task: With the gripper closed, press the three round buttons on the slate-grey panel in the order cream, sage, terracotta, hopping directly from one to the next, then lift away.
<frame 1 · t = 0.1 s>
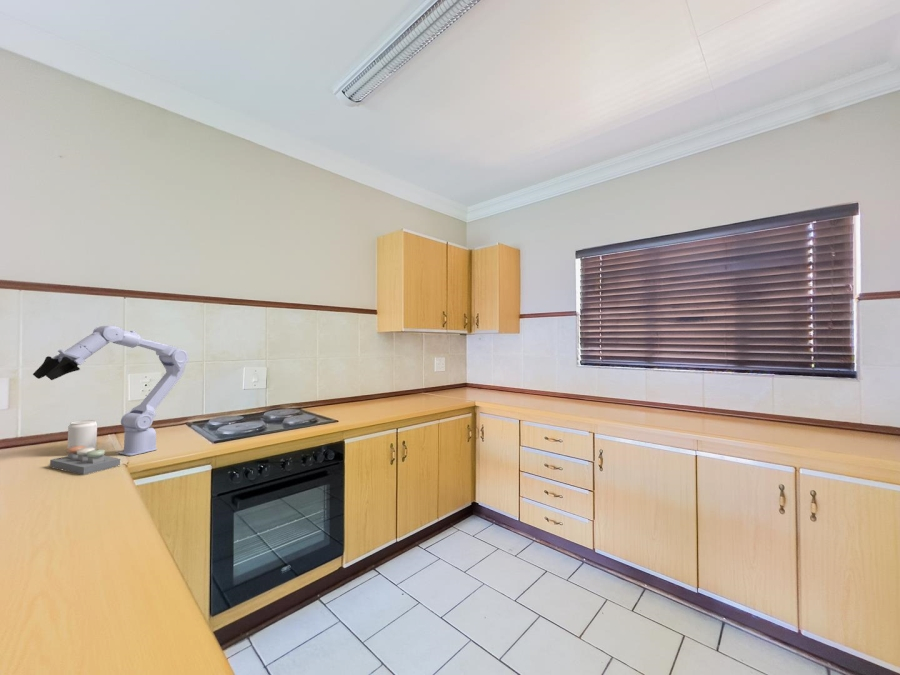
hand: (42, 377, 120), 32 cm above the worktop, tool tilted 50°, fingers open, 7 cm apart
terracotta button: (75, 453, 130), point 4 cm above the worktop, slide at 0.0 cm
button panel: (85, 466, 128), on the worktop
sage button: (95, 457, 126), point 4 cm above the worktop, slide at 0.0 cm
translucent white cylinder: (81, 452, 144), on the worktop
cream button: (85, 455, 128), point 4 cm above the worktop, slide at 0.0 cm
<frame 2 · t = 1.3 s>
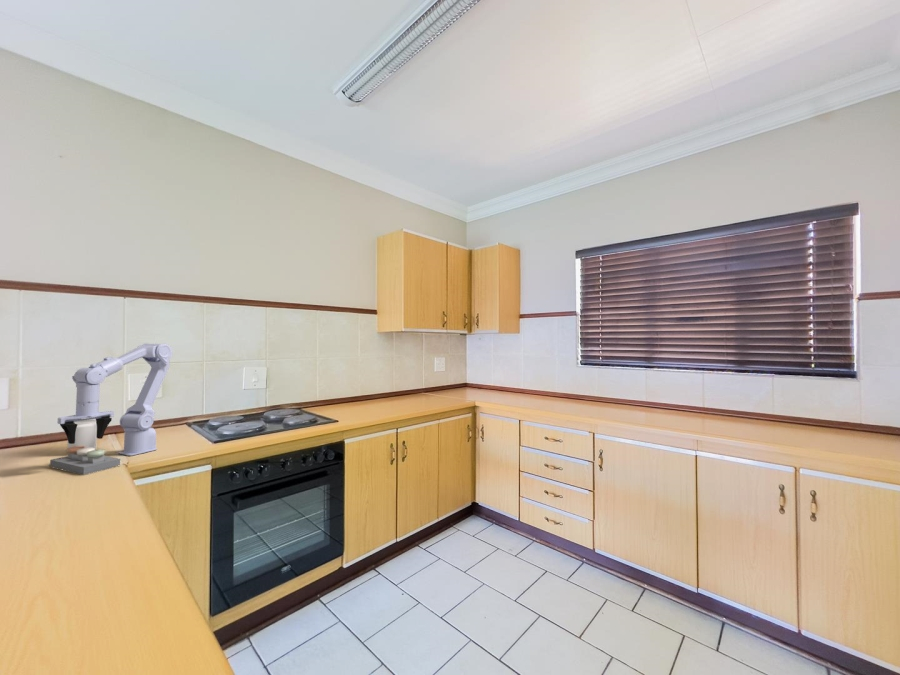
hand: (85, 440, 128), 9 cm above the worktop, tool pointing down, fingers open, 7 cm apart
nothing on the worktop moved.
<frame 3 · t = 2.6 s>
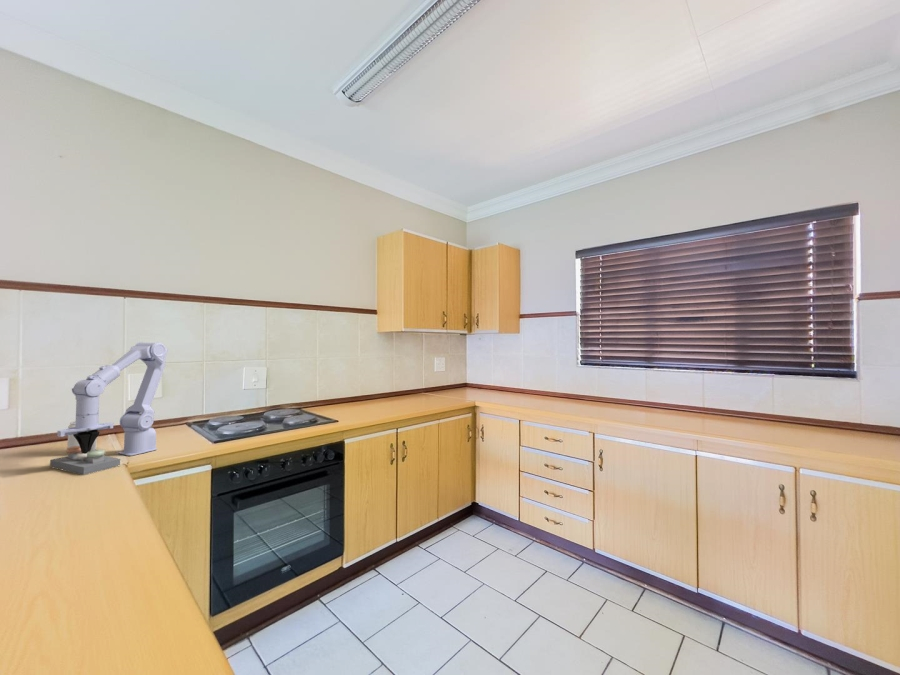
hand: (85, 452, 128), 5 cm above the worktop, tool pointing down, fingers closed, pressing on cream button
cream button: (85, 458, 128), point 3 cm above the worktop, slide at 1.2 cm, touching gripper
everything else where it was.
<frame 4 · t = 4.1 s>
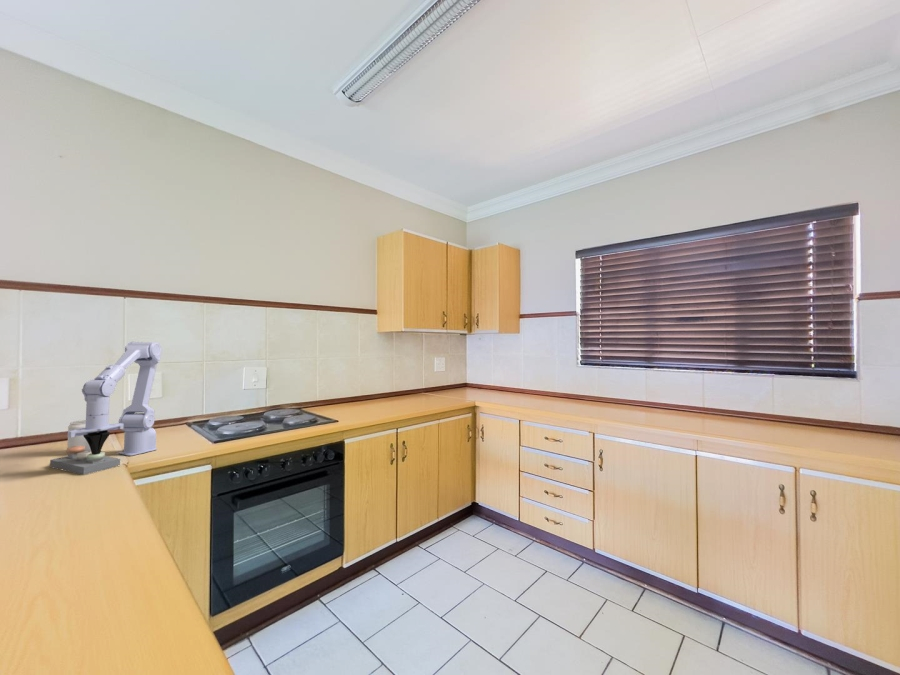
hand: (95, 453, 126), 5 cm above the worktop, tool pointing down, fingers closed, pressing on sage button
sage button: (95, 460, 126), point 3 cm above the worktop, slide at 0.9 cm, touching gripper
cream button: (85, 458, 128), point 3 cm above the worktop, slide at 1.2 cm
everything else where it was.
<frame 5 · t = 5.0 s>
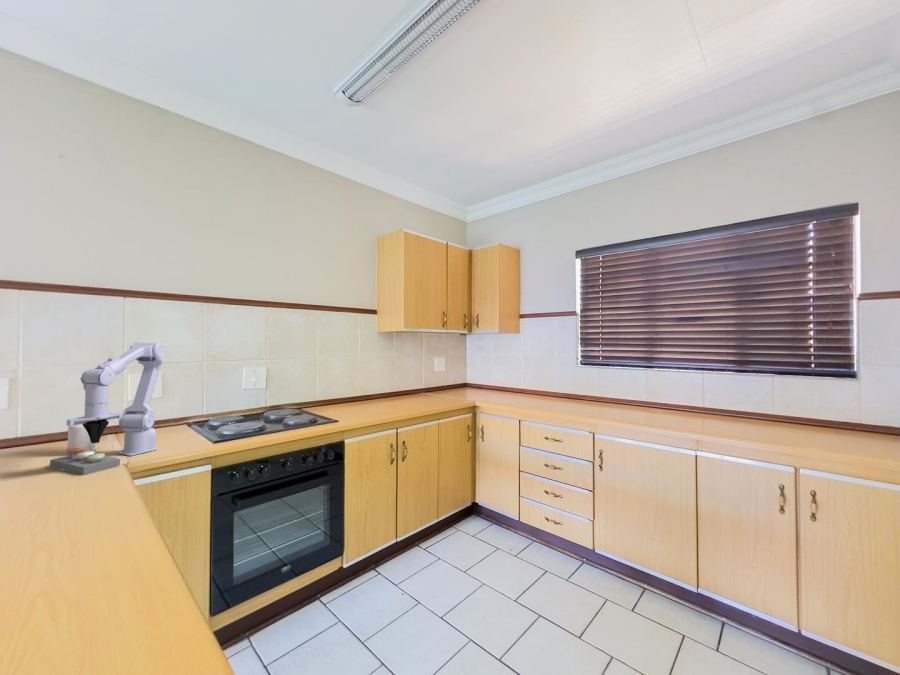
hand: (95, 442, 127), 9 cm above the worktop, tool pointing down, fingers closed
sage button: (95, 461, 126), point 3 cm above the worktop, slide at 1.2 cm
everything else where it was.
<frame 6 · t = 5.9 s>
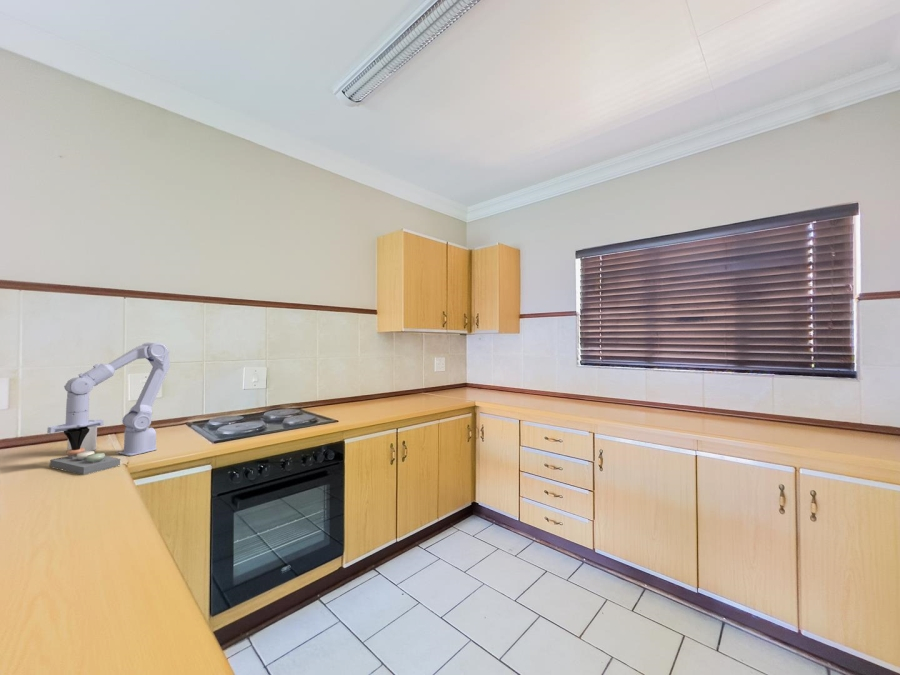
hand: (75, 449, 130), 5 cm above the worktop, tool pointing down, fingers closed, pressing on terracotta button
terracotta button: (75, 455, 130), point 3 cm above the worktop, slide at 0.7 cm, touching gripper
everything else where it was.
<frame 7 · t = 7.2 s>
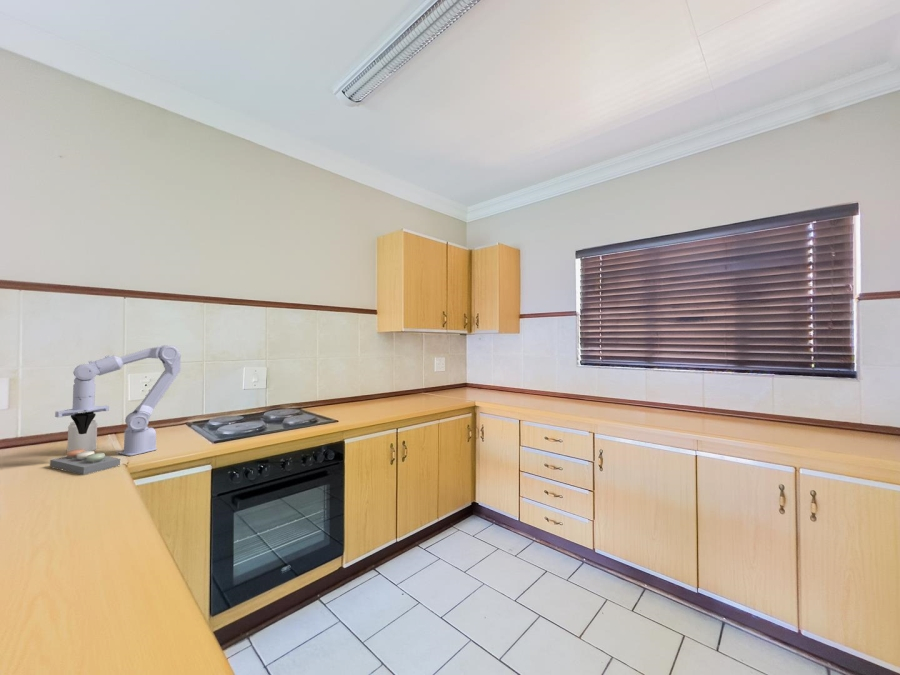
hand: (82, 433, 134), 10 cm above the worktop, tool pointing down, fingers closed
terracotta button: (75, 456, 130), point 3 cm above the worktop, slide at 1.2 cm
everything else where it was.
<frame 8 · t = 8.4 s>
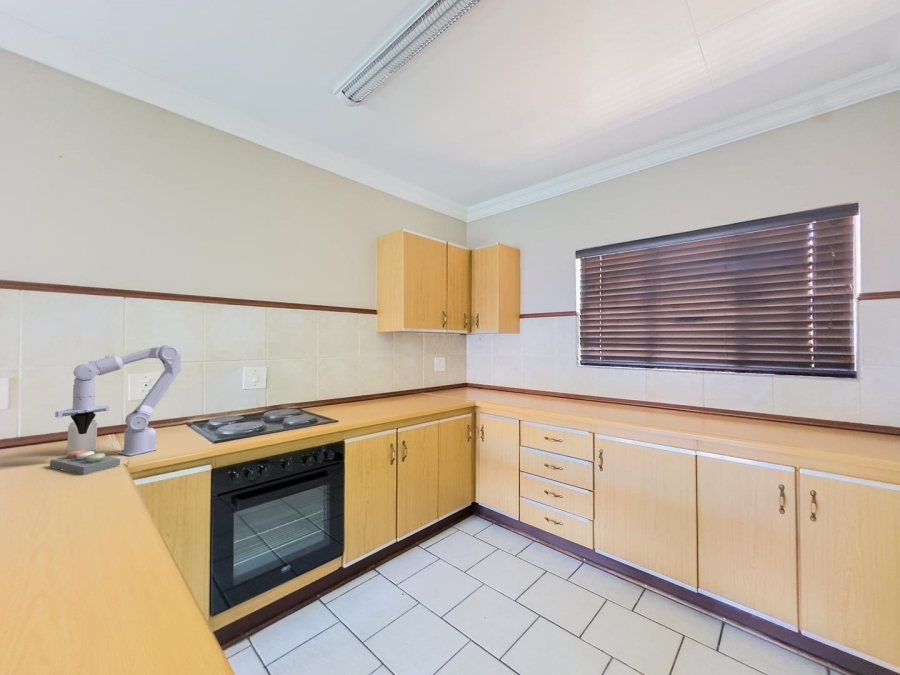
hand: (82, 433, 134), 10 cm above the worktop, tool pointing down, fingers closed
nothing on the worktop moved.
at the end: cream button slide at 1.2 cm; sage button slide at 1.2 cm; terracotta button slide at 1.2 cm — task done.
